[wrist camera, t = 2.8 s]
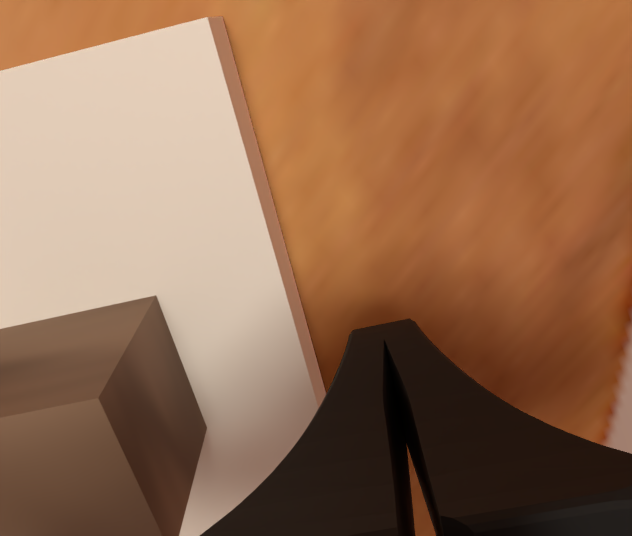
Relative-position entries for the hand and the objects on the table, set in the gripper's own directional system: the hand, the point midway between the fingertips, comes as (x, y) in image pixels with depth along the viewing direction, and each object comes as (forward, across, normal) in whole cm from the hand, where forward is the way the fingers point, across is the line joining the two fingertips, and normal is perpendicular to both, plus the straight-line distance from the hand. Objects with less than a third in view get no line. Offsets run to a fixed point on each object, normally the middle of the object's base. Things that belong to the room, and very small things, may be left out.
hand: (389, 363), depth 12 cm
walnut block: (+2, +7, 0) cm, 7 cm away
